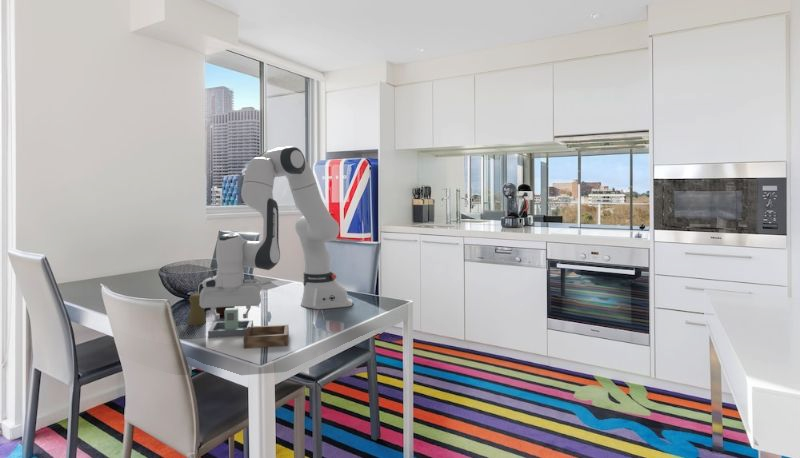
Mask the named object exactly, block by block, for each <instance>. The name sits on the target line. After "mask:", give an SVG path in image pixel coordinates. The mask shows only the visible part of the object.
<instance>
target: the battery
mask: <svg viewBox="0 0 800 458" xmlns="http://www.w3.org/2000/svg"><path fill="white" fill-rule="evenodd" d="M203 288H204V287H203V282H200V283H199V284H198V285H197V294H200V293H201V290H202V289H203ZM208 310H210V311H211V308H204V312H205V311H208Z"/></svg>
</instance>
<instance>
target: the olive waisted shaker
mask: <svg viewBox="0 0 800 458" xmlns="http://www.w3.org/2000/svg"><path fill="white" fill-rule="evenodd" d="M188 301H189V303H190V308H189V315H188V316H189V318H188V326H192V327H193V326H201V325H204V324H206V323H207V319H206V314H205V311H204V308H201V306H200V304H199V301H200V294H198V293H193V294H191V295H190V296H189V297H188Z"/></svg>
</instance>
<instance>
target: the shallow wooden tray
mask: <svg viewBox="0 0 800 458" xmlns="http://www.w3.org/2000/svg"><path fill="white" fill-rule="evenodd" d="M246 328H247V327H246ZM289 329H290V328H289V324H278V325H277V324H276V325H261V326H260V325H258V326H257V325H256V326H255V325H253V327H248V328H247V330H246V333H245V335H244V336H243V349H252V348H253V349H254V348H269V347H271V348H272V347H286V346H288V344H289V335H290V333H289V331H290V330H289Z"/></svg>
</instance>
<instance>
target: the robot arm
mask: <svg viewBox="0 0 800 458" xmlns="http://www.w3.org/2000/svg"><path fill="white" fill-rule="evenodd" d="M278 177H279V178H281V177H286V179H287V181H288V185H289V186H288V187H289V188H290V193H291V195H292V198H293V201H294V203H295V206H296V208H297V209H298V210H299V212H300V213H301V214H302V216H300V217H299V218H298V219H297V220H296V222H295V225H294V227H295V228H294V229H295V232H296V234H297V236H298V237H299V241H300V244H301V248H302V252H303V264H304V265H303V267H304V270H303V275H302V284H303V293H302V298H301V302H300V305H301V306H302V307H304V308H309V309H314V310H324V309H325V310H326V309H334V308H335V309H336V308H347V307H351V306H353V304H354V303H353V299H352V298H351V297H348V296H349V295H348V291H347V289H346V288H345V287H344V286H343V285H342V284H340V283H339V282H338V281H336V279H337V275H336V273H334V272H331V256H330V252H329V251H328V248H327V247H326V244H325V243H327V242H332V241H335V240H336V239H337V237H338V236H339V234H340V231H341V229H340V224H339V223H338V221H337V220H336V219H334V218H333V216H332V215H331V213H330V212H329V211H328V208H327V206H326V205H325V203H324V201H323V198H322V196H321V193H320V189H319V187H318V184H317V180H316V178H315V175H314V172H313V170H312V169H311V166H310V164H309V163H308V161H306V158H305V155H304V154H303V152H302V151H301V149H300V148H298V147H295V146H285V147H276V148H274V149H271V150H268V151H263V152H261V153H259V155H257V157H254V158H251V159H250V161H248V165H247V166H246V170H245V173H244V176H243V181H242V185H241V190H240V191H241V193H240V194H241V199H242V201H243V203H244V204H245V205H247V207H248V208H250V209H252V210H255V211H256V212H258V213H259V214H260V215H261V217H262V219H263V220H262V221H263V227H262V228H263V229H262V231H263V233H262V235H263V236H262V237H263V238H262V240H261V241H253V240H247V239H246V238H245V239H244V238H243V237H242V235H241V234H240V233H236V232H229V233H225V234H221V235H220V236H218V238H217V240H216V249H215V260H216V263H217V269H216V275H213V276H210V277H207V278H205V279H204V280H203V281H202V283H203V287H204V288H203V289H202V290H201V293H200V301H199V304H200V306H201V308H211V309H210V312H211V313H212V314H213V316H214V321H219V320H220V319H221V318H220V314H217V312H216V307H235V308H237V307H245V309H247V310H246V311H245V312H243V313H242V318H243V319H248V318H249V313H250V310H251V308H252V307H254V306H259V305H261V303H262V295H261V291H262V288H263V287H262V282H261V280H258V279H256V278H253V279H249V278H248V279H245V278H244V277H245V275H244V270H245V269H244V268H251V269H253V268H255V269H259V270H264V271H265V270H267V271H270V270H271V269H273V268H274V267H276V266H277V265H278V263H279V261H280V259H281V252H280V251H281V250H280V245H279V231H280V230H279V226H280V225H279V224H280V223H279V206H278V203H277V201H276V200H275V199H274V197H273V196H274V195H273V191H274V190H273V189H274V183H275V181H274V180H275V179H276V178H278ZM243 267H244V268H243Z"/></svg>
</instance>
